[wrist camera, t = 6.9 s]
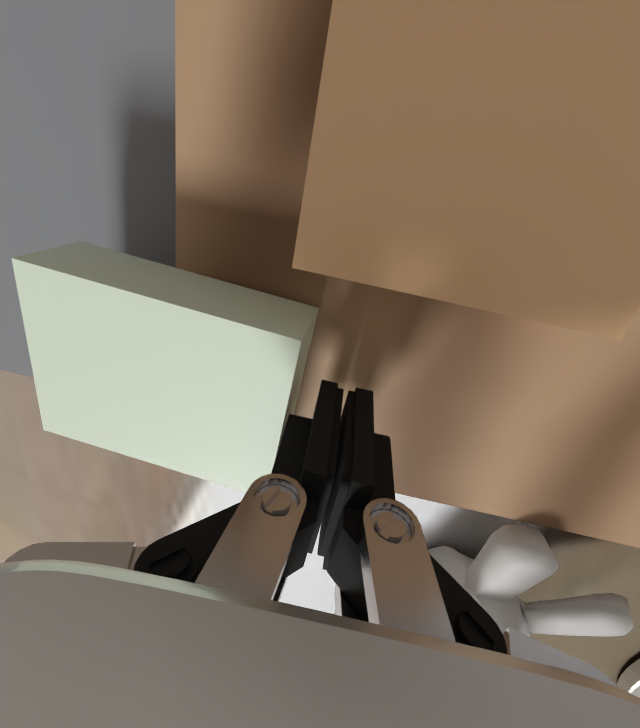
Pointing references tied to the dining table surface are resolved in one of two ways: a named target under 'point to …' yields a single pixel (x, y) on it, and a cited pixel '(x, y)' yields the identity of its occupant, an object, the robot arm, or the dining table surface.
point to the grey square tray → (84, 137)
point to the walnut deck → (393, 300)
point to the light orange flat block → (481, 156)
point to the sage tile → (162, 360)
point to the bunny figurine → (522, 571)
